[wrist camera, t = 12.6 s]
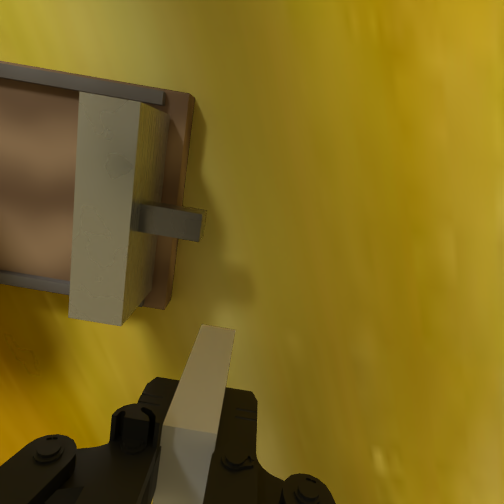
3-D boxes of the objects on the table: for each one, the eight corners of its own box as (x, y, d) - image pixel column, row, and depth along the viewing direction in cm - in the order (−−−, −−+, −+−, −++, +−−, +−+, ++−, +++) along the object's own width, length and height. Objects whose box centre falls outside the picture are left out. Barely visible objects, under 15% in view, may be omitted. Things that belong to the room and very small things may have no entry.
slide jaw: (123, 106, 24) (79, 91, 18) (224, 124, 24) (211, 114, 19) (110, 282, 27) (68, 317, 21) (199, 297, 27) (182, 336, 21)
